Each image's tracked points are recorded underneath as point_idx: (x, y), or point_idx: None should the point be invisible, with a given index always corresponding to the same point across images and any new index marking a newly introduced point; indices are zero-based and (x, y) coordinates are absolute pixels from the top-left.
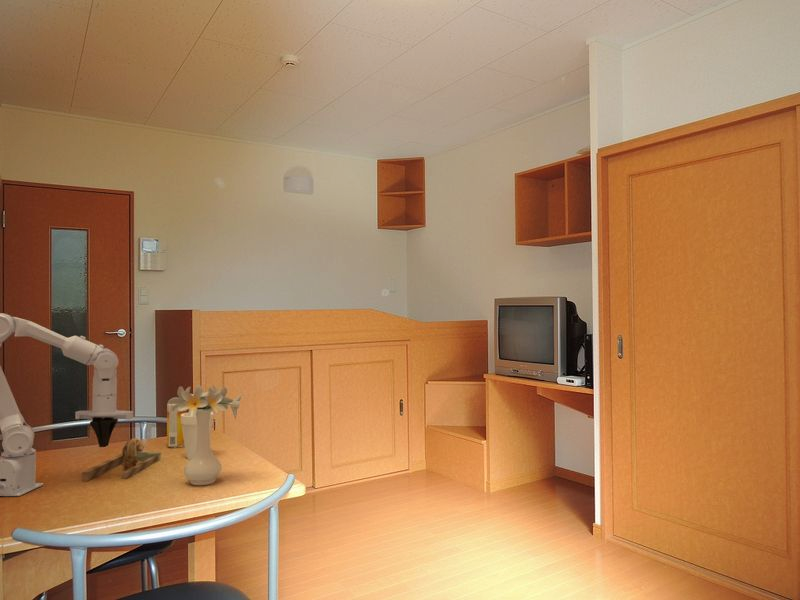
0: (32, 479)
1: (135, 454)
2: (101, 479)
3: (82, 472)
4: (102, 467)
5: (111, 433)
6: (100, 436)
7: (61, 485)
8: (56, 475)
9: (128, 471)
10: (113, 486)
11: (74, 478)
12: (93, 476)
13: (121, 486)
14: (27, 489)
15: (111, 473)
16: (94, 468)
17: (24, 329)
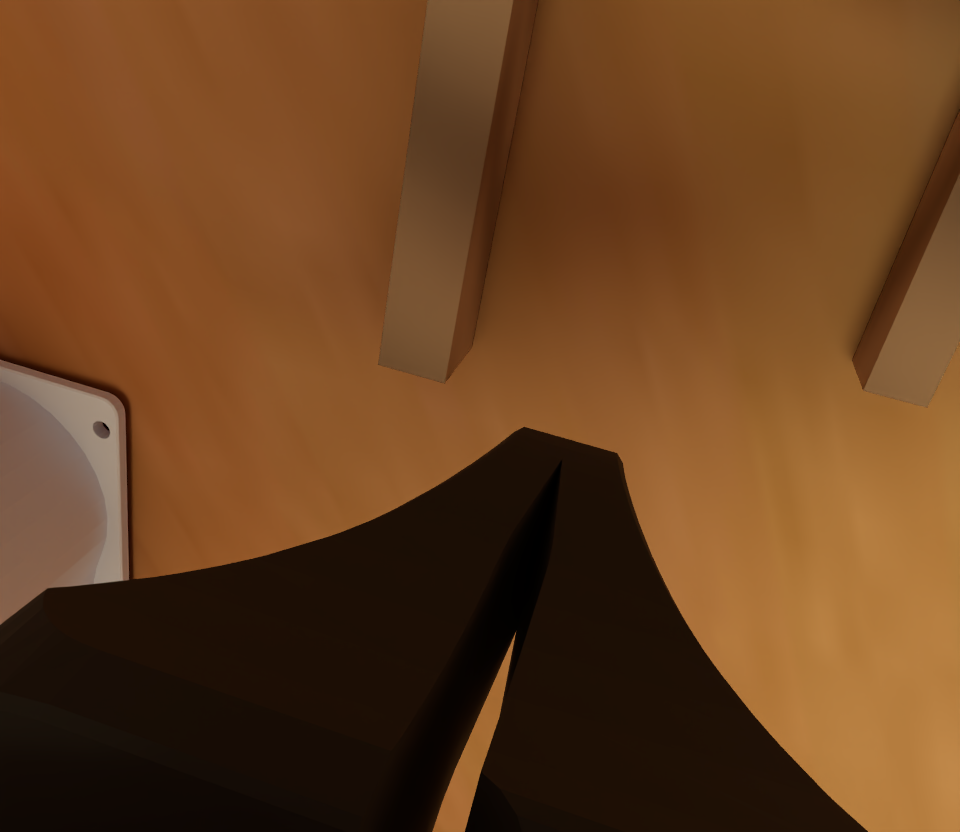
0: (59, 563)
1: None
2: (602, 313)
3: (379, 362)
4: (516, 17)
5: (667, 593)
6: (462, 744)
7: (280, 435)
8: (23, 5)
9: (950, 341)
10: (796, 612)
11: (283, 195)
12: (487, 243)
13: (881, 637)
14: (101, 560)
15: (658, 26)
16: (453, 191)
17: None
